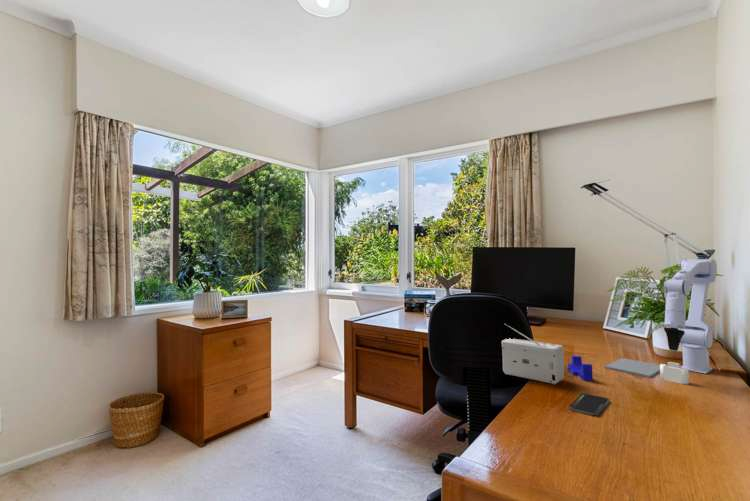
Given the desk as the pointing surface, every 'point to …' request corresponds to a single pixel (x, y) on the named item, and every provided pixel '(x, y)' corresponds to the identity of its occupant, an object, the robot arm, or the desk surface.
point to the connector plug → (674, 373)
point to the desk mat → (634, 367)
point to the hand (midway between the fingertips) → (673, 350)
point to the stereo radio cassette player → (533, 359)
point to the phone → (589, 404)
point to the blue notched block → (580, 369)
